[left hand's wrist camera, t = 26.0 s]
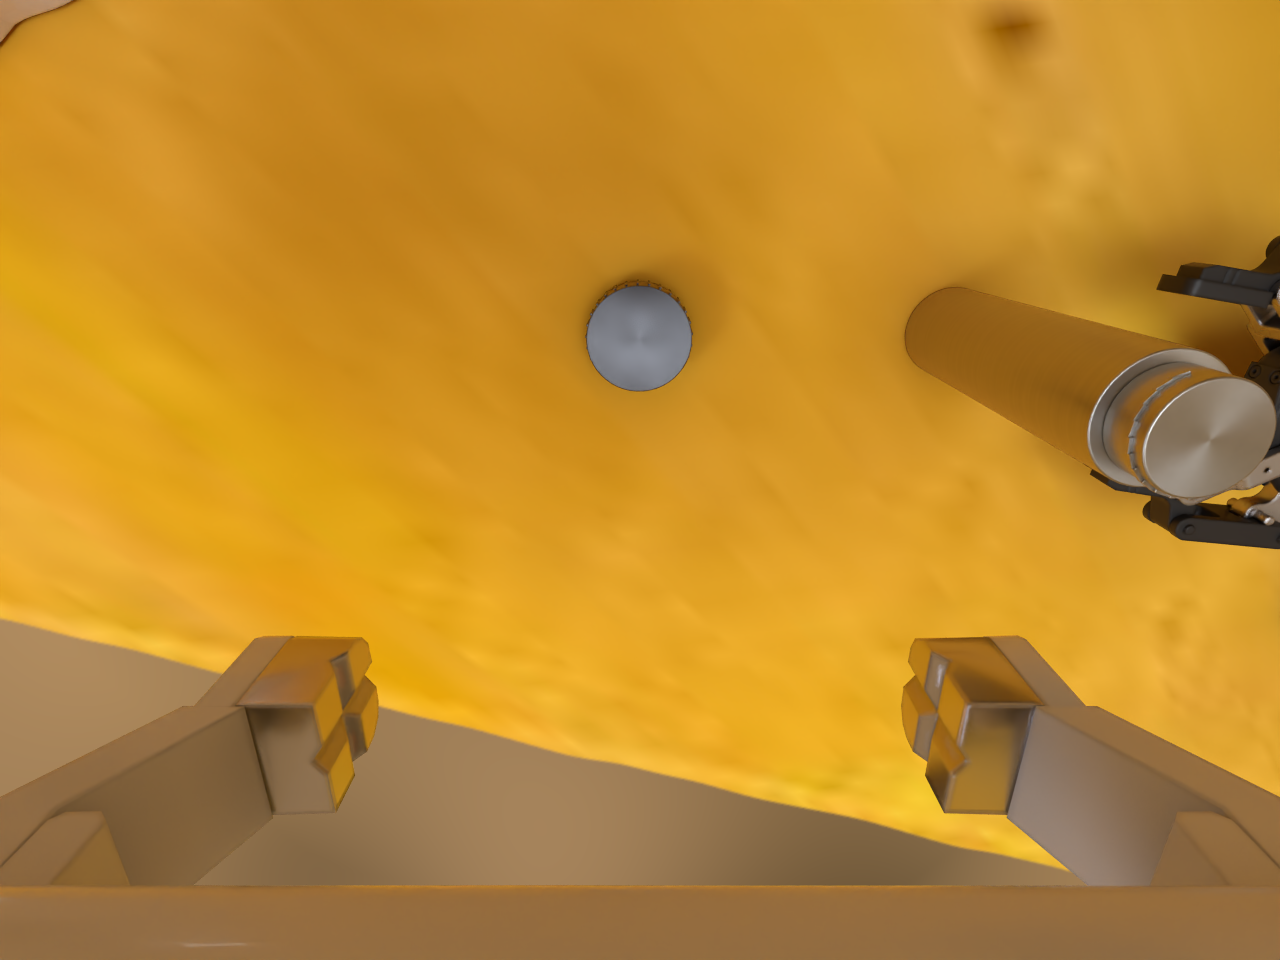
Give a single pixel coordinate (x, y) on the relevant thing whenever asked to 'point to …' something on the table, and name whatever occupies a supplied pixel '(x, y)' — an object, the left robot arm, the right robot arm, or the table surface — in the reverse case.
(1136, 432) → the bottle
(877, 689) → the table surface
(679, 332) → the lid
